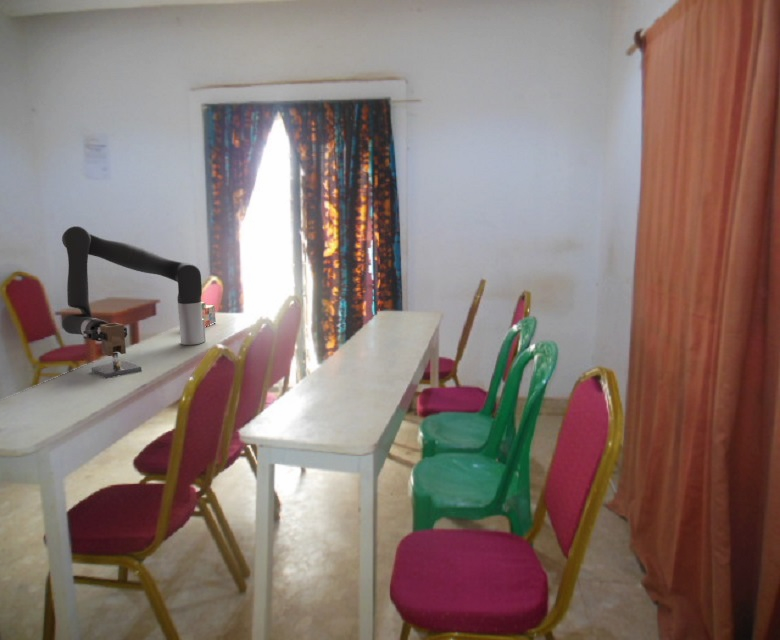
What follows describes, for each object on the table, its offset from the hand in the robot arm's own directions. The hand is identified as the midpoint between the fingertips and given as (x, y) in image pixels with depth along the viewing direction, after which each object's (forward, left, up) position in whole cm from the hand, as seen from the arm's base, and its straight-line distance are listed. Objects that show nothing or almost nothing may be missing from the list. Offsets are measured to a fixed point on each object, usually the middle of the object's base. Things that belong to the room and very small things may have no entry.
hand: (115, 335), depth 199 cm
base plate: (-1, -2, -13) cm, 13 cm away
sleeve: (-1, -2, -6) cm, 7 cm away
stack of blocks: (-72, -36, -13) cm, 81 cm away
